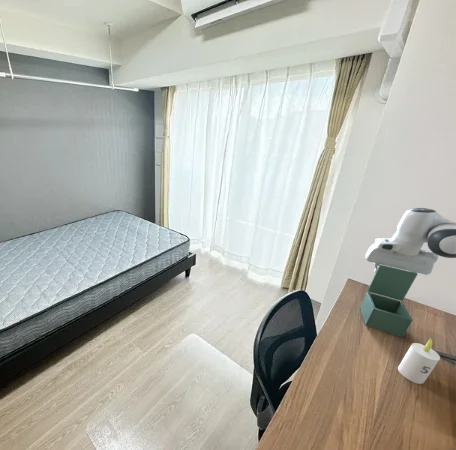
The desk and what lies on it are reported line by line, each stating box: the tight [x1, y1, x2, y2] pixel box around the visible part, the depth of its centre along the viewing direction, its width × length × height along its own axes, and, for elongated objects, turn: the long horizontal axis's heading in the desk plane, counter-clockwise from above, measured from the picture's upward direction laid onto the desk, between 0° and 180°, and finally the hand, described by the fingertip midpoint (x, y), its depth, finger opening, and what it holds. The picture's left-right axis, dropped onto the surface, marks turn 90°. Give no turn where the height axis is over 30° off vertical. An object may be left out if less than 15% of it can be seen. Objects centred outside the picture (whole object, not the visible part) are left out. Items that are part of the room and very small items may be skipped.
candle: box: [397, 338, 441, 385], centre depth 77 cm, size 6×6×15 cm
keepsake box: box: [359, 291, 413, 338], centre depth 100 cm, size 13×12×9 cm
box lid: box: [367, 264, 418, 302], centre depth 102 cm, size 14×12×5 cm
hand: (390, 275), depth 103 cm, fingers open, 8 cm apart
